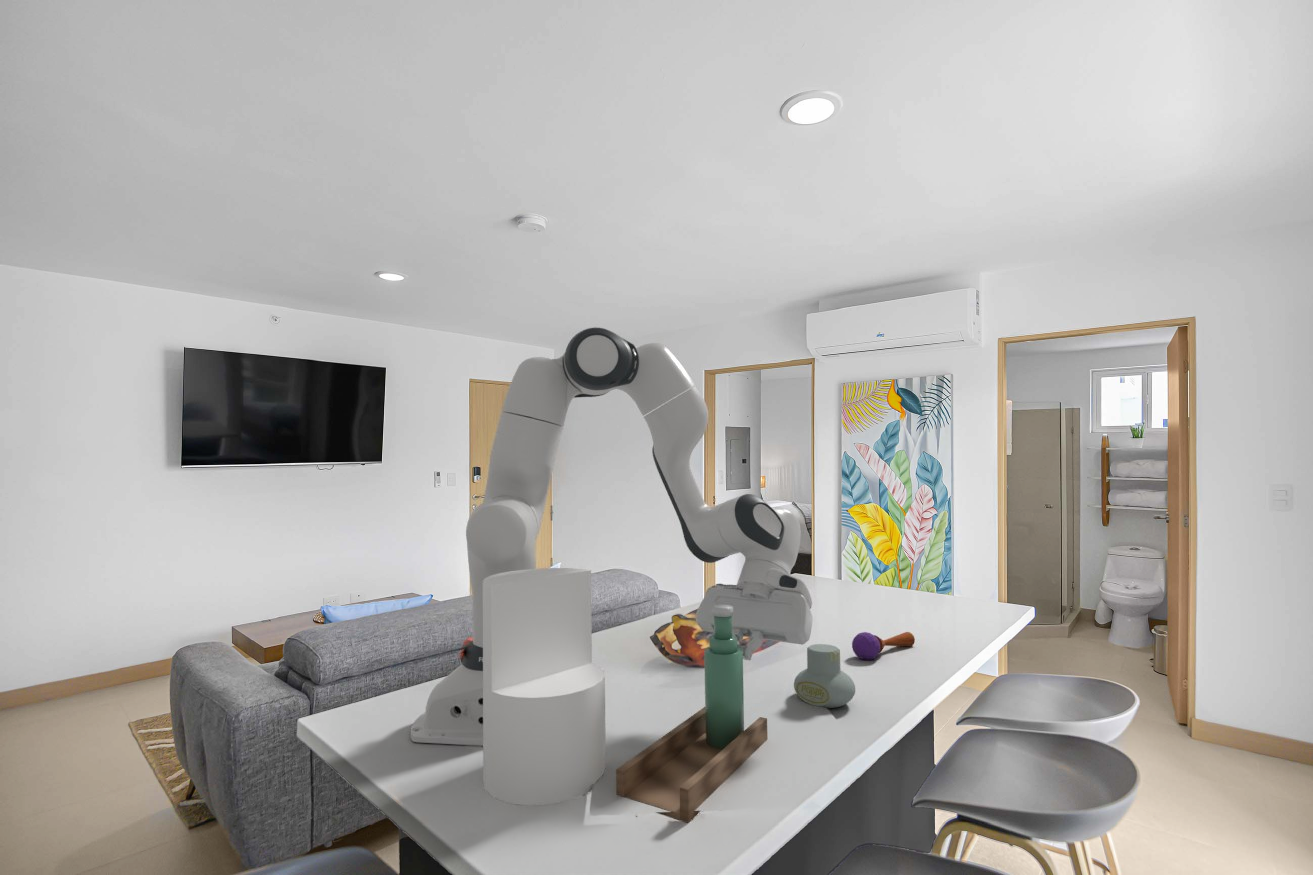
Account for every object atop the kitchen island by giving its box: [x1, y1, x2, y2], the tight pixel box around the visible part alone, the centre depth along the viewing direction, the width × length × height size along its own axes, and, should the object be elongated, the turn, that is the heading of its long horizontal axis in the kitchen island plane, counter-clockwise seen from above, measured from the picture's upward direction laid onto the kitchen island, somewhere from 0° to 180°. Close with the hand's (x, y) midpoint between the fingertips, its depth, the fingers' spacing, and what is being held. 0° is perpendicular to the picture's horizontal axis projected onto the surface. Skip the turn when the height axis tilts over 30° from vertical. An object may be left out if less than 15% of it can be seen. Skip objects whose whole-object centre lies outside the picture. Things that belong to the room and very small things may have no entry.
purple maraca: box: [851, 631, 916, 661], centre depth 152 cm, size 6×6×20 cm
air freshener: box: [793, 643, 856, 709], centre depth 121 cm, size 11×8×10 cm
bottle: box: [703, 605, 745, 749], centre depth 103 cm, size 6×6×21 cm
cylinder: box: [482, 567, 607, 806], centre depth 95 cm, size 17×17×28 cm
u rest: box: [615, 706, 768, 824], centre depth 95 cm, size 26×11×4 cm, turn 149°
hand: (740, 657), depth 109 cm, fingers closed
